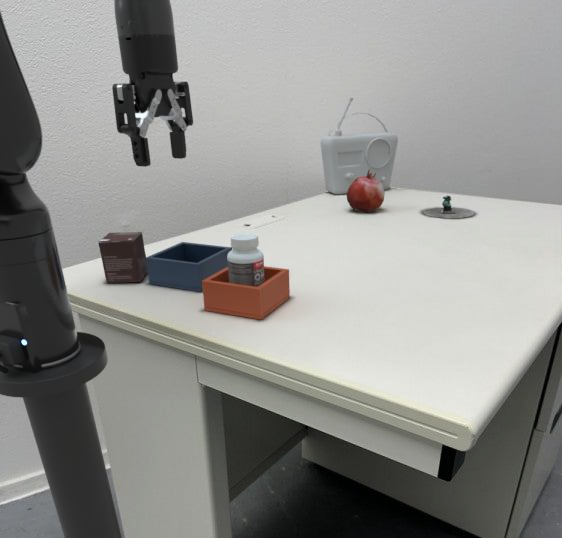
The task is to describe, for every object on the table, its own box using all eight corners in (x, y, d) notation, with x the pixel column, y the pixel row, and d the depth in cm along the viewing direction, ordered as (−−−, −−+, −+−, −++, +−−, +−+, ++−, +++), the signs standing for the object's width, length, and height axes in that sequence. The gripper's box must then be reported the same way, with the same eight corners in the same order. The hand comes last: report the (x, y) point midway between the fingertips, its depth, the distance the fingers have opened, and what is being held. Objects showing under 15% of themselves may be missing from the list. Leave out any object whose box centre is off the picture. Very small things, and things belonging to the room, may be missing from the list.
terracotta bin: (261, 319, 78) (259, 289, 76) (204, 310, 82) (201, 280, 79) (289, 297, 85) (289, 269, 83) (236, 289, 89) (234, 262, 87)
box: (149, 272, 99) (143, 231, 95) (140, 283, 93) (133, 240, 90) (116, 272, 99) (108, 232, 95) (105, 283, 94) (97, 241, 90)
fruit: (340, 208, 141) (341, 167, 136) (374, 205, 143) (376, 165, 138) (354, 216, 133) (355, 173, 128) (389, 212, 135) (392, 170, 130)
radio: (330, 196, 155) (331, 98, 143) (318, 192, 162) (319, 97, 150) (398, 190, 161) (405, 95, 149) (384, 185, 168) (390, 94, 156)
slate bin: (201, 292, 89) (198, 264, 86) (149, 284, 93) (145, 257, 91) (234, 272, 97) (232, 247, 95) (185, 266, 101) (182, 241, 99)
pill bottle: (264, 306, 81) (261, 240, 76) (228, 306, 81) (223, 241, 76) (266, 293, 85) (263, 231, 81) (232, 294, 86) (227, 231, 81)
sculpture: (413, 212, 137) (432, 185, 136) (434, 233, 141) (453, 207, 140) (442, 218, 126) (463, 189, 125) (464, 241, 131) (485, 213, 130)
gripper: (157, 37, 80) (171, 155, 88) (86, 32, 69) (109, 167, 77) (199, 34, 77) (209, 157, 85) (132, 28, 66) (151, 170, 74)
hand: (162, 162), depth 81 cm, fingers open, 8 cm apart
